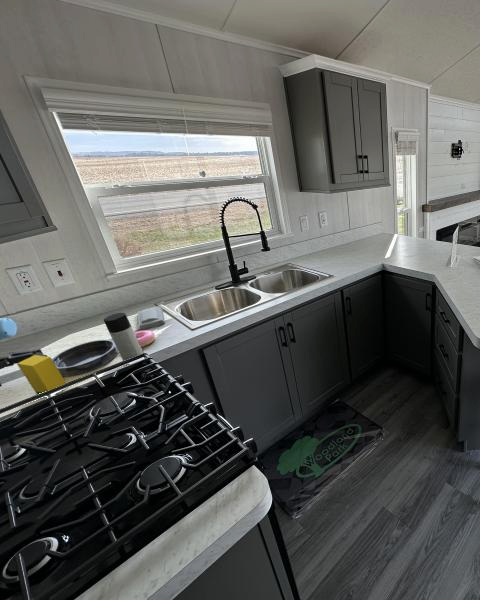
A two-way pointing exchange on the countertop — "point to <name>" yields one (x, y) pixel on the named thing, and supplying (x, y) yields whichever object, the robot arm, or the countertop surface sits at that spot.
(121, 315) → the spray can
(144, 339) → the doughnut
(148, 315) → the soap mold
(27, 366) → the sponge
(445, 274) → the countertop surface
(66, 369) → the bowl
